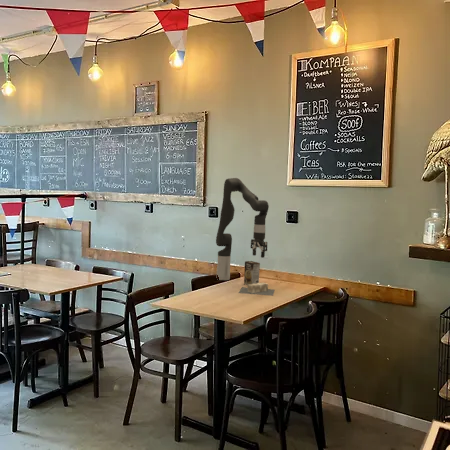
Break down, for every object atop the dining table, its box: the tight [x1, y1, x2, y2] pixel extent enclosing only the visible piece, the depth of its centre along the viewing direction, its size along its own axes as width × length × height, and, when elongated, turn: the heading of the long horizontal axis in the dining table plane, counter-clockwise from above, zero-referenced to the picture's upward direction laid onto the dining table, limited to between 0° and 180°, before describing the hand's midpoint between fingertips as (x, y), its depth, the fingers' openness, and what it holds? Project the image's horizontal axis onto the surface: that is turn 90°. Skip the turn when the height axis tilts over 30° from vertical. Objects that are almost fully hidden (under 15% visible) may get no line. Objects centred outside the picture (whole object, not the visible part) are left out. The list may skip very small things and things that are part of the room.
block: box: [247, 282, 269, 293], centre depth 306 cm, size 5×5×13 cm
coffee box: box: [243, 260, 261, 286], centre depth 325 cm, size 9×6×16 cm
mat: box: [238, 286, 276, 296], centre depth 306 cm, size 22×17×1 cm
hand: (258, 256), depth 304 cm, fingers open, 8 cm apart
